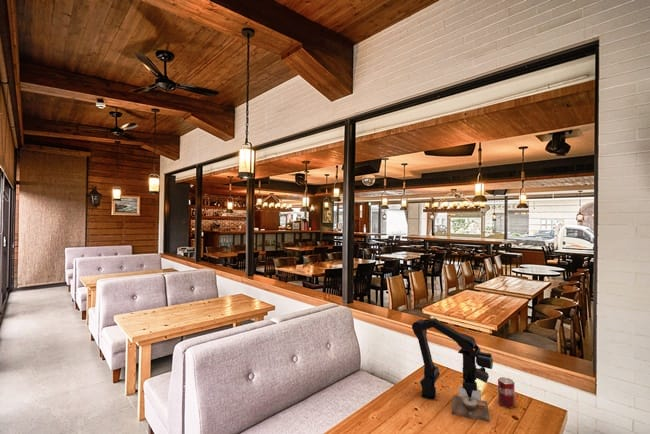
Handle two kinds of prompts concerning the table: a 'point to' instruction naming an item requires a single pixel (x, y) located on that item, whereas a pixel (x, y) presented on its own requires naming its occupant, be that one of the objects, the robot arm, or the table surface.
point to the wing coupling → (470, 399)
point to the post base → (475, 414)
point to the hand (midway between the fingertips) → (469, 395)
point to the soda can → (506, 392)
